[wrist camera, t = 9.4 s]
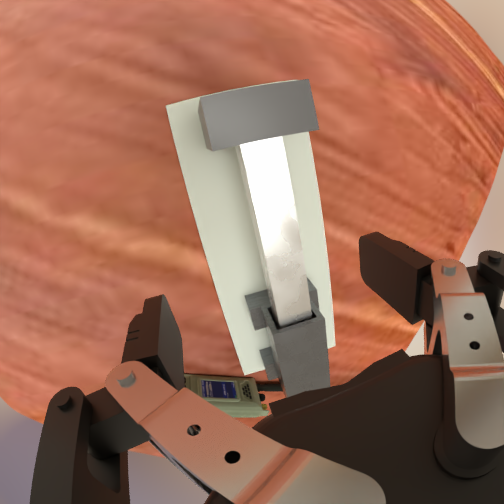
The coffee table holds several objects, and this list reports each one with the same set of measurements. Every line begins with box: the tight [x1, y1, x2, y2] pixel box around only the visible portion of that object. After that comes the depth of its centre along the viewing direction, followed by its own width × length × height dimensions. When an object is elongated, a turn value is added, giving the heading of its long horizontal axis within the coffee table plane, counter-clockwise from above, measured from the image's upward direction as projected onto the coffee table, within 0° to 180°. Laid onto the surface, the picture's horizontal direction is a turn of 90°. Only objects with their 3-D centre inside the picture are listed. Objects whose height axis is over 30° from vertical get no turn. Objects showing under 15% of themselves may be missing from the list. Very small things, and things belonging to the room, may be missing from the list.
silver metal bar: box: [235, 136, 312, 330], centre depth 28 cm, size 3×24×3 cm, turn 12°
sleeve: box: [245, 278, 330, 398], centre depth 35 cm, size 8×12×9 cm, turn 13°
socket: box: [198, 79, 319, 151], centre depth 24 cm, size 8×4×10 cm, turn 103°
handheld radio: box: [184, 374, 283, 417], centre depth 39 cm, size 7×3×25 cm
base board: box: [166, 80, 335, 375], centre depth 35 cm, size 14×36×2 cm, turn 13°
